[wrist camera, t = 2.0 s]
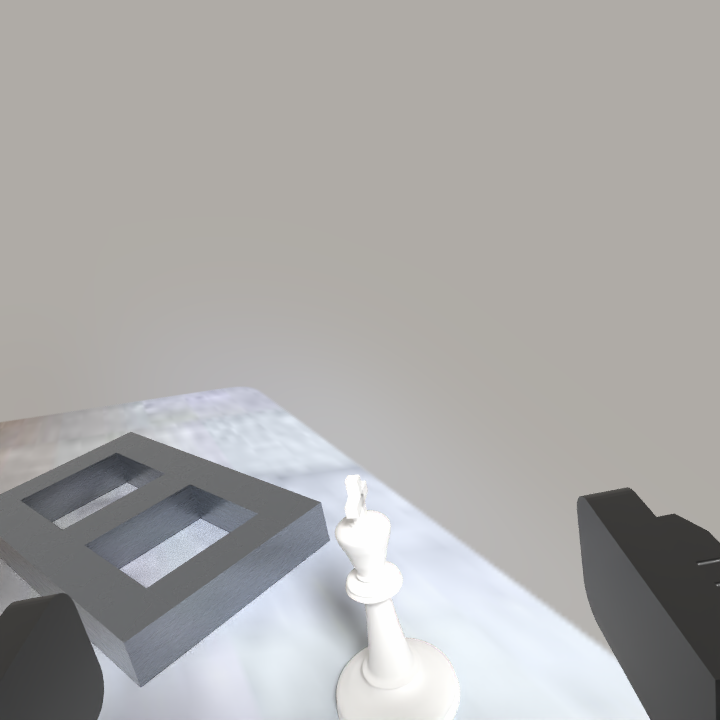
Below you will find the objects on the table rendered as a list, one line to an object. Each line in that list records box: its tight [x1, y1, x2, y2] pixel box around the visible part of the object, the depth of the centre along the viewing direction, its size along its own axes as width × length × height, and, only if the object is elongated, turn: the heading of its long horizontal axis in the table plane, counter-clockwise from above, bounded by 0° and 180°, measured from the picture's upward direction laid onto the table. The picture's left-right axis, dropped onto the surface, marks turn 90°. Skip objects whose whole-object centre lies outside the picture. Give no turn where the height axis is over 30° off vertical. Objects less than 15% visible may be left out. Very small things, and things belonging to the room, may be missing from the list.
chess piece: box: [335, 475, 460, 720], centre depth 24 cm, size 5×5×10 cm
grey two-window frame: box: [0, 432, 330, 687], centre depth 39 cm, size 12×22×2 cm, turn 47°
